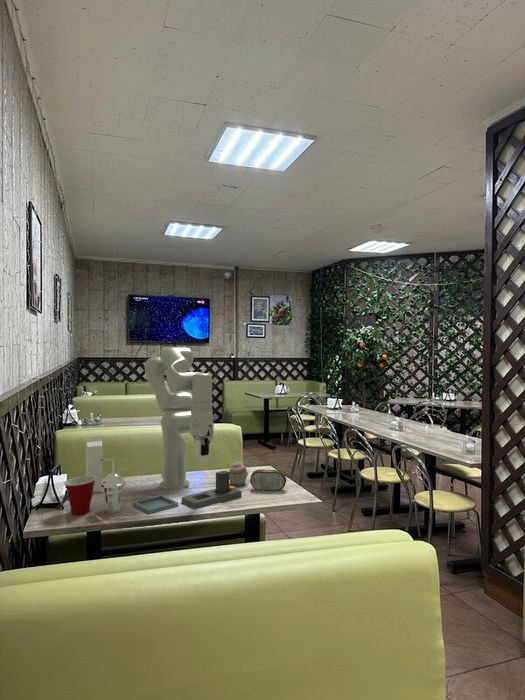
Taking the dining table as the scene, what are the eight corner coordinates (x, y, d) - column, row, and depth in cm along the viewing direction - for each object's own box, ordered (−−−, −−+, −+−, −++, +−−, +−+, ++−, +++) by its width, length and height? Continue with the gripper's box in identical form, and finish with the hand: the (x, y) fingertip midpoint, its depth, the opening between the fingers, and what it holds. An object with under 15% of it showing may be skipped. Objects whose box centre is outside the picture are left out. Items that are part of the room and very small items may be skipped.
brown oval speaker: (286, 489, 189) (286, 469, 189) (285, 492, 186) (286, 471, 186) (250, 488, 190) (250, 468, 190) (249, 490, 187) (249, 470, 187)
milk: (85, 489, 188) (85, 436, 188) (101, 487, 191) (100, 435, 191) (87, 493, 183) (87, 439, 183) (102, 491, 185) (102, 437, 186)
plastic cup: (73, 506, 167) (73, 474, 167) (101, 507, 166) (101, 475, 166) (57, 517, 156) (57, 482, 156) (86, 518, 155) (86, 483, 155)
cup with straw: (128, 513, 161) (128, 457, 161) (102, 517, 156) (102, 460, 156) (121, 505, 168) (122, 452, 168) (96, 510, 163) (97, 455, 163)
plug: (194, 462, 170) (194, 435, 171) (204, 460, 174) (204, 434, 174) (199, 463, 168) (199, 436, 168) (209, 461, 171) (209, 435, 172)
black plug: (215, 497, 178) (215, 472, 178) (224, 495, 181) (224, 470, 181) (220, 499, 175) (220, 474, 175) (229, 497, 178) (229, 472, 178)
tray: (133, 506, 167) (133, 501, 167) (161, 499, 176) (161, 494, 176) (148, 515, 159) (148, 510, 159) (178, 507, 167) (178, 502, 167)
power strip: (181, 503, 171) (181, 495, 171) (227, 491, 185) (227, 483, 185) (194, 510, 164) (195, 501, 164) (241, 497, 179) (241, 488, 179)
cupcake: (252, 482, 198) (252, 460, 198) (241, 488, 190) (241, 464, 190) (234, 479, 203) (234, 457, 203) (222, 485, 194) (223, 462, 194)
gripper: (181, 404, 175) (182, 452, 174) (206, 408, 163) (206, 459, 162) (198, 403, 180) (198, 449, 180) (222, 406, 168) (223, 456, 167)
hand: (202, 453), depth 171 cm, fingers closed on plug, 3 cm apart
